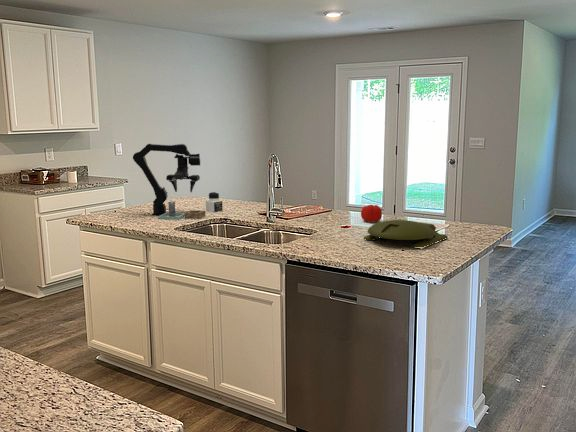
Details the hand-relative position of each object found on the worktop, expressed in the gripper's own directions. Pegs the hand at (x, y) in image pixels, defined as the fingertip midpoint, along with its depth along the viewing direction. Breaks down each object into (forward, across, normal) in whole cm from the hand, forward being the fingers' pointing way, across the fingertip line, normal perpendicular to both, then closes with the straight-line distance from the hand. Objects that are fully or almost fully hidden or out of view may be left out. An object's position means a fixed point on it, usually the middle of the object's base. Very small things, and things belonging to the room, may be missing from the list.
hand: (183, 192), depth 335 cm
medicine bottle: (+13, +16, +8) cm, 22 cm away
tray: (+13, -1, -17) cm, 21 cm away
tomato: (+13, +110, -7) cm, 111 cm away
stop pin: (+12, -1, -17) cm, 21 cm away
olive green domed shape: (+14, +126, -50) cm, 136 cm away
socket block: (+13, +12, -14) cm, 22 cm away
